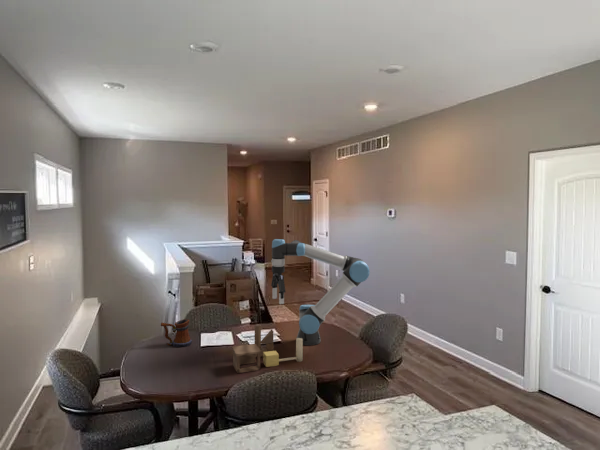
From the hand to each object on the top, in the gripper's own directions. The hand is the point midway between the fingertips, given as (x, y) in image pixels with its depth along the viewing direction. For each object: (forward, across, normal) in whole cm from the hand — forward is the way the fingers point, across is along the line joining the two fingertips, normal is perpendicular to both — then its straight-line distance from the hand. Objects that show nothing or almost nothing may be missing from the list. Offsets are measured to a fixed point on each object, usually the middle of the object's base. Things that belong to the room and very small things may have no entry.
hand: (278, 301), depth 251 cm
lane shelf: (+29, +21, -24) cm, 43 cm away
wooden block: (+29, +7, -11) cm, 32 cm away
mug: (+29, -27, -56) cm, 69 cm away
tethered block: (+29, +21, -3) cm, 36 cm away
